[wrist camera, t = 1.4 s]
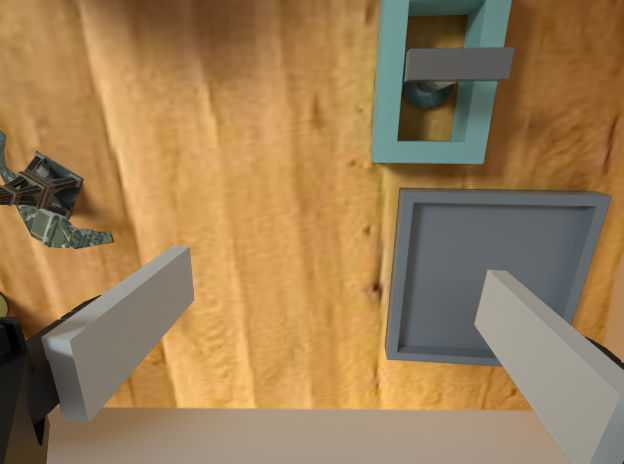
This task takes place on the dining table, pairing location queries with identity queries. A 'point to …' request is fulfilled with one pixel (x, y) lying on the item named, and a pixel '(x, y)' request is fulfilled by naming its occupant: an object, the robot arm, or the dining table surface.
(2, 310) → the tube
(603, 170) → the dining table surface
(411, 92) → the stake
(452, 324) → the tray
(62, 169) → the eiffel tower figurine
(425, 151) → the ring frame
